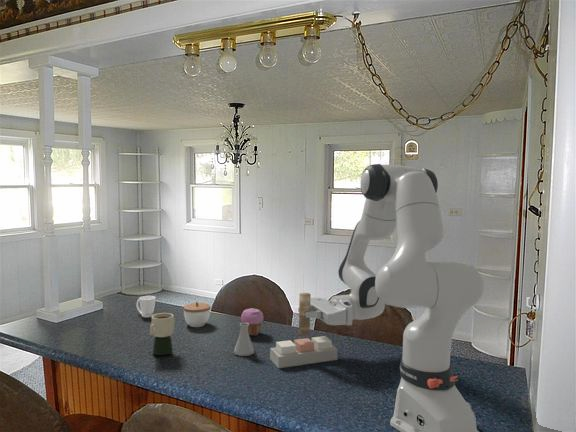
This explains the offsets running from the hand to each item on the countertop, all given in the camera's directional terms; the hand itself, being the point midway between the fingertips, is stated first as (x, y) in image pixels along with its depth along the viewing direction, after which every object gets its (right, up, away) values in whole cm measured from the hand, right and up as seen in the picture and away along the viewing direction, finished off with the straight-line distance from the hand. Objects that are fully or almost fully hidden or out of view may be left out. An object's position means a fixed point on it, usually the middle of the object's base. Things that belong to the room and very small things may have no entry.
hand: (302, 312), depth 141 cm
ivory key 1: (-5, -13, -1) cm, 14 cm away
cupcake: (-18, -14, +25) cm, 34 cm away
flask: (-20, -15, +6) cm, 26 cm away
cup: (-67, -12, +47) cm, 82 cm away
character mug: (-47, -15, +4) cm, 49 cm away
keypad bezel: (+1, -16, +1) cm, 16 cm away
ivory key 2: (+7, -12, +3) cm, 15 cm away
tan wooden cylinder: (+1, -7, +1) cm, 7 cm away
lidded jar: (-42, -13, +35) cm, 56 cm away
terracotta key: (+1, -12, +1) cm, 13 cm away
